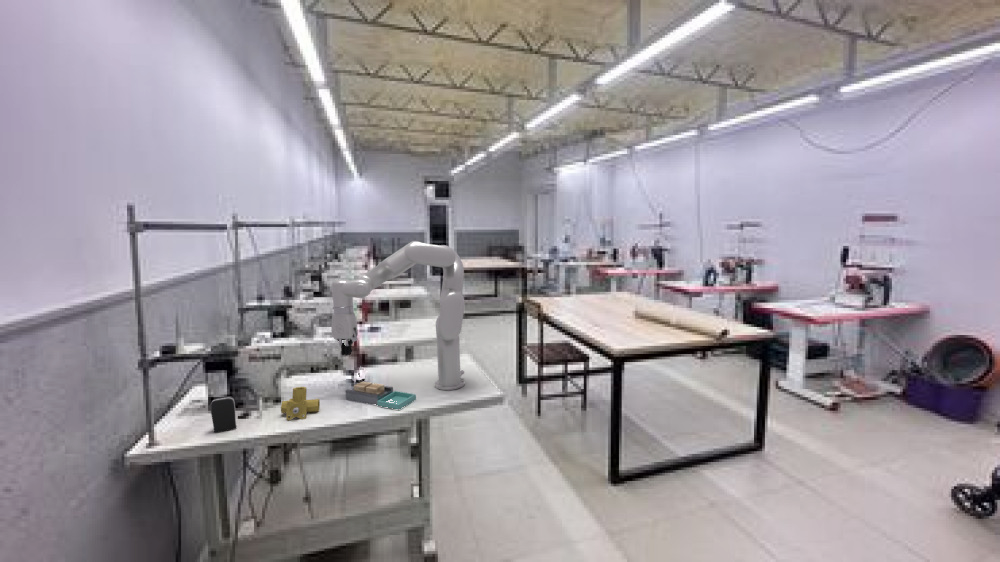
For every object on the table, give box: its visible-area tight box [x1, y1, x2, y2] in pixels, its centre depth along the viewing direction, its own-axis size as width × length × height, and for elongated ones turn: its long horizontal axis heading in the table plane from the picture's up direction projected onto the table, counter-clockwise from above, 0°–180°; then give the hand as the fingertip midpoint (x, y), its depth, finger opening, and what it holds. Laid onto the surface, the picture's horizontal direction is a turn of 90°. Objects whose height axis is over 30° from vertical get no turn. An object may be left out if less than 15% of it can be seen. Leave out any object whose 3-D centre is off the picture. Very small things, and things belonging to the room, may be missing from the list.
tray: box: [376, 390, 417, 410], centre depth 171 cm, size 11×10×2 cm
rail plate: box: [344, 385, 394, 406], centre depth 177 cm, size 9×16×4 cm, turn 66°
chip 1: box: [353, 380, 373, 392], centre depth 178 cm, size 5×5×2 cm
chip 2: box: [366, 382, 385, 394], centre depth 175 cm, size 5×5×2 cm
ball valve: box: [280, 386, 321, 421], centre depth 162 cm, size 13×10×10 cm
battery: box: [210, 395, 237, 433], centre depth 152 cm, size 7×4×11 cm, turn 116°
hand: (346, 354), depth 179 cm, fingers closed
